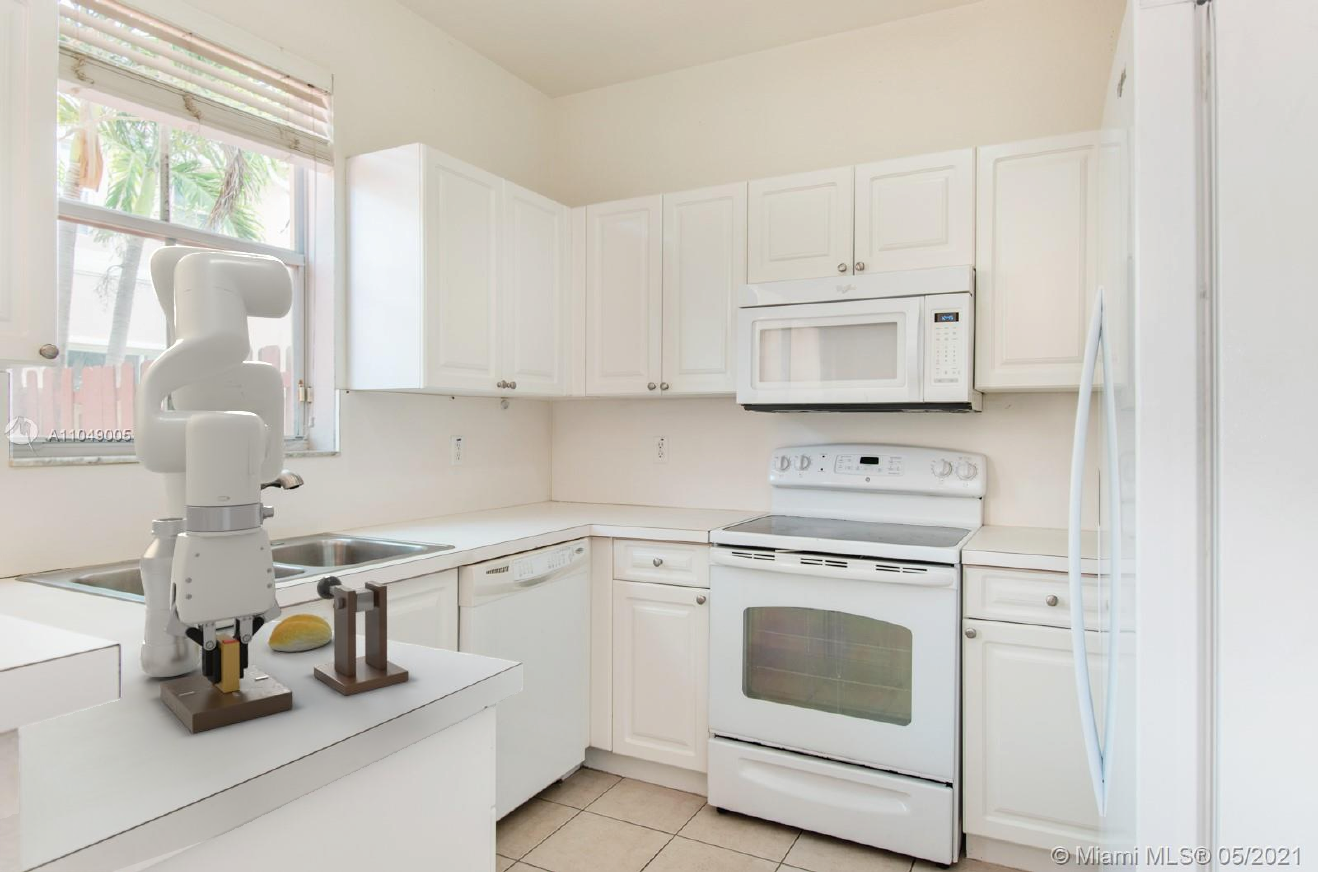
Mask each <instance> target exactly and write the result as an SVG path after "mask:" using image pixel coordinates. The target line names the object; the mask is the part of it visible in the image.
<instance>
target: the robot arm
mask: <svg viewBox="0 0 1318 872" xmlns="http://www.w3.org/2000/svg"><path fill="white" fill-rule="evenodd" d="M148 268H149V269H148V270H149V271H148V272H149V278H150V282H151V285H152V288H153V291H154V294H155V296H156V299H157V301H158V303H159V306H160V307H161V309H162V312H163V314H164V316H165V319H166V321H167V325H168V328H169V329H168V330H169V335H170V337H169V338H170V347H169V348H168V349H167V350H165V351H163V353H161V354H160V355H159V356H158V357H156V359H155V360H154V361H152V362H151V364H150V365H149V366H148V367H147V368H146V370H145V371H144V373H143V374H142V376H141V378H140V380H139V382H138V384H137V387H136V390H135V395H134V405H133V411H134V412H133V420H134V421H133V445H134V452H135V456H136V459H137V461H138V463H139V464H140V466H141V467H142V468H144V469H145V470H147V471H149V472H152V473H156V474H162V476H163V481H164V489H165V497H166V515H167V516H166V518H186V533H180V534H178V536H177V540H176V544H175V549H174V555H173V563H172V574H171V587H170V613H169V616H168V618H167V620H166V623H165V625H164V628H163V629H164V631H165V632H166V633H167V634H169V635H175V636H181V637H188V638H190V639H192V640H193V641H195V642H196V643H197V644H199V645H200V647H201V674H203V676H204V677H207V679H208V680H209V681H210V682H212V683H213V684H214V685H215V684H219V683H220V682H221V649H220V648H218V643H217V642H216V635H217V629H221V628H226V627H230V626H231V627H232V626H233V636H232V638H235V639H237V641H238V642H239V675H240V679H243V678H244V669H246V668H248V665H249V644H250V643H251V642H252V640H253V637H254V636H255V635H256V633H258V631H260V630H261V628H262V627H263V626H264V625H265V624H269V622H272V621H273V620H275V619H277V618H279V617H280V616H281V615H282V612H283V611H282V609H281V607H280V605H279V603H278V602H279V601H278V600H277V598H276V576H275V575H276V574H275V565H274V559H273V553H272V546H271V541H270V537H269V532H268V529H267V528H265V527H263V526H264V521H265V520H267V519H268V518H270V519H271V518H273V517H274V516H275V510H274V506H267V505H264V503H263V502H262V500H261V499H262V489H261V488H262V487H261V486H262V485H263V484H271V483H273V482H275V481H278V480H279V478H280V477H281V475H282V473H283V470H284V461H285V387H284V385H285V384H284V381H283V376H282V374H281V372H280V371H279V369H278V368H277V367H276V366H275V365H273V364H272V363H268V362H264V361H251V360H250V361H249V360H247V358H248V357H249V355H250V351H251V344H250V332H249V323H248V317H252V318H263V319H264V318H265V319H266V318H267V319H282V318H284V317H286V316H287V315H288V314H289V312H290V310H291V308H292V304H293V297H294V295H293V294H294V292H293V284H292V278H291V274H290V272H289V270H288V268H287V266H286V265H285V263H283V261H282V260H280V259H278V258H276V257H274V256H272V255H267V254H260V253H259V254H258V253H249V252H241V251H232V250H223V249H217V248H210V247H209V248H208V247H200V246H187V245H186V246H185V245H182V246H181V245H169V246H161V247H160V248H157V249H155V250H154V251H153V252H152V253H151V255H150V257H149V262H148ZM169 395H170V396H171V397H170V398H171V403H172V406H173V410H171V409H170V410H163V409H162V403H163V401H164V400H165V399H166V398H167V397H168V396H169ZM262 525H263V526H262ZM182 622H183V623H186V624H196V627H195V626H193V625H186V624H183V623H182Z"/></svg>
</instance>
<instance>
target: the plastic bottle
mask: <svg viewBox="0 0 1318 872" xmlns="http://www.w3.org/2000/svg"><path fill="white" fill-rule="evenodd" d="M180 533H186V518H167V517H166V518H164V517H163V518H157V519H153V520H152V530H151V535H152V536H153V540H152V541H151V542H150V544H149V545H148V546H147V547H146V549H145V550H144V551H143V553H142V555H141V557H140V558H139V563H138V564H139V571H140V578H141V583H142V588H143V596H144V604H145V607H144V608H145V609H144V610H145V621H144V632H143V633H144V634H143V635H144V636H143V641H142V646H141V650H140V651H141V652H140V664H141V668H142V670H143V672H144V673H145V674H146V675H147V676H148V677H151V678H165V677H166V678H171V677H172V678H173V677H175V676H179V675H184V674H188V673H190V672H193V671H194V670H195V669H196V668H197V666H198V665H199V663H200V661H201V660H200V659H201V655H202V646H200V645H199V644H197V643H196V642H195V641H193V640H192V639H190V638H188V637H181V636H175V635H169V634H167V633H166V632H165V631H164V629H163V628H164V625H165V623H166V620H167V618H168V616H169V613H170V587H171V574H172V563H173V555H174V549H175V544H176V540H177V536H178V534H180ZM182 623H183V622H182ZM183 624H186V623H183ZM186 625H193V626H195V627H196V624H186Z"/></svg>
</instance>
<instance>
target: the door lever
mask: <svg viewBox="0 0 1318 872" xmlns="http://www.w3.org/2000/svg"><path fill="white" fill-rule="evenodd" d="M342 583H343V582H342V581H341V579H339V577H337V576H335V575H327V576H324V577H322V578H321V579H320V580H319V581H318V583H317V585H316V593H317V594H318V597H320V598H322V599H323V600H326V601H327V600H328V601H331V600H334V586H338V585H343V584H342ZM352 589H353V588H352ZM353 590H356V613H362V612H365V611H369V610H373V609H374V592H373V591H372V590H369V589H366V588H365V587H359V588H354V589H353Z"/></svg>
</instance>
